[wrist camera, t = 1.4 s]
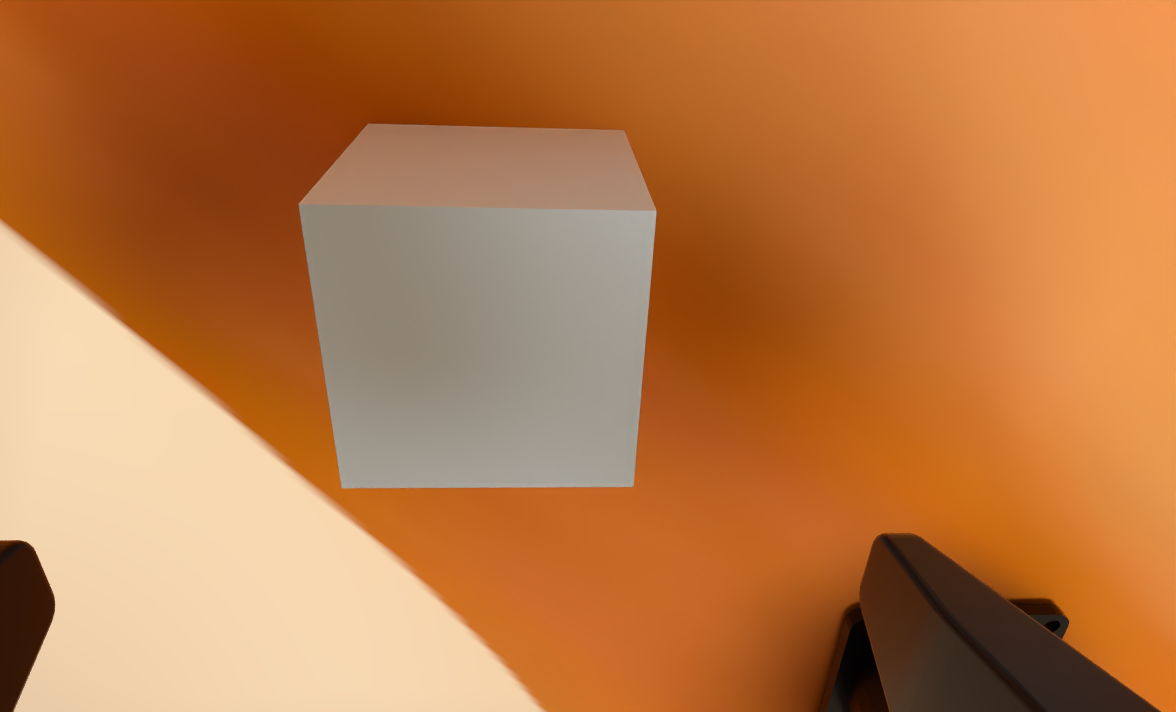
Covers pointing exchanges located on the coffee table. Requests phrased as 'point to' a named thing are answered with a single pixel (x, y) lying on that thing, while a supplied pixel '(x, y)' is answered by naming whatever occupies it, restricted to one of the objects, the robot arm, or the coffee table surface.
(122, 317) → the coffee table surface
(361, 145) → the top block
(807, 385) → the coffee table surface
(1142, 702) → the robot arm
